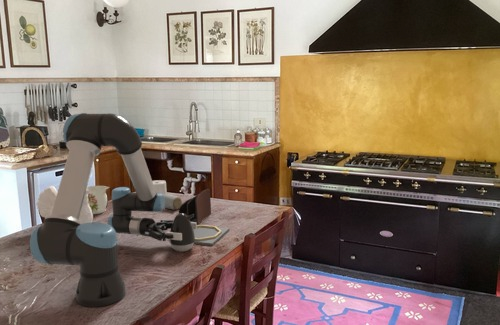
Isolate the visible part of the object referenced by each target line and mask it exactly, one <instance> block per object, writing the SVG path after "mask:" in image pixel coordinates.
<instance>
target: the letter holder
mask: <svg viewBox="0 0 500 325" xmlns="http://www.w3.org/2000/svg"><path fill="white" fill-rule="evenodd" d="M211 204H212V202H211V190H210V188H205V189H204V190H202V191H201V192H200V193H199V194H196V195H195V196H194V197H193V196H192V197H191V198H189V199H187V200H185V201H184V202H182V205H181V206H180V207H179V209H178V214H180V213H184V214H186V215H187V216H189V215H192V214H194V217H192V218H190V219H189V220H190V222H195V223H197V225H200V224H201V223H202V222H203V220H205V219H206V218H208V216H210V215H211V214H212V205H211Z"/></svg>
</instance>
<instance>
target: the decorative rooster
mask: <svg viewBox="0 0 500 325" xmlns="http://www.w3.org/2000/svg"><path fill="white" fill-rule="evenodd" d="M88 191H89V190H87V189H86V192H85V196H84V200H83V204H82V208H81V212H80V216H79V222H80V223H81V224H84V223H92V222H94V221H93V220H94V214H92V210H91V208H90V206H89V203H88V194H87V193H88ZM57 192H58V190H57V188H56V187H55V186H54V185H50V186H48V187H46V188H45V189H44V190H43V191H42V192H40V194H39V195H38V199H37V200H38V201H36V206H37V209H38V212H39V214H40V216H41V217H42V218H44V219H45V218H46V217H48V216H50V215H51V214H52V210H53V206H54V203H55V199H56V196H57Z"/></svg>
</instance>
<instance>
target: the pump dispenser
mask: <svg viewBox="0 0 500 325" xmlns="http://www.w3.org/2000/svg"><path fill="white" fill-rule="evenodd" d="M192 217H194V214H192V215H189V216H187V215H186V214H184V213H180V214H179V213H177V214H176V216H175V217H174V218H173V219H172V220H173V223H172V226H171V229H170V231H169V232H174V233H182V240H172V239H170V241H169V244H170V246H171V248H172V249H173V250H174V251H176V252H180V253H182V252H188V251H189V250H191V249H192V248H193V246H194V241H195V235H194V230H193V227H192V224H191V222H190V220H189V219H190V218H192Z"/></svg>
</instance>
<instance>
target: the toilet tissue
mask: <svg viewBox="0 0 500 325" xmlns="http://www.w3.org/2000/svg"><path fill="white" fill-rule="evenodd" d="M152 182H153V185H154V187H155V190H156V193H157V194H158V193H159V194H163V195H164V196H165V195H166V194H168V192H167V182H166V180H163V179H162V180H161V179H159V180H157V179H156V180H152Z"/></svg>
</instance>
